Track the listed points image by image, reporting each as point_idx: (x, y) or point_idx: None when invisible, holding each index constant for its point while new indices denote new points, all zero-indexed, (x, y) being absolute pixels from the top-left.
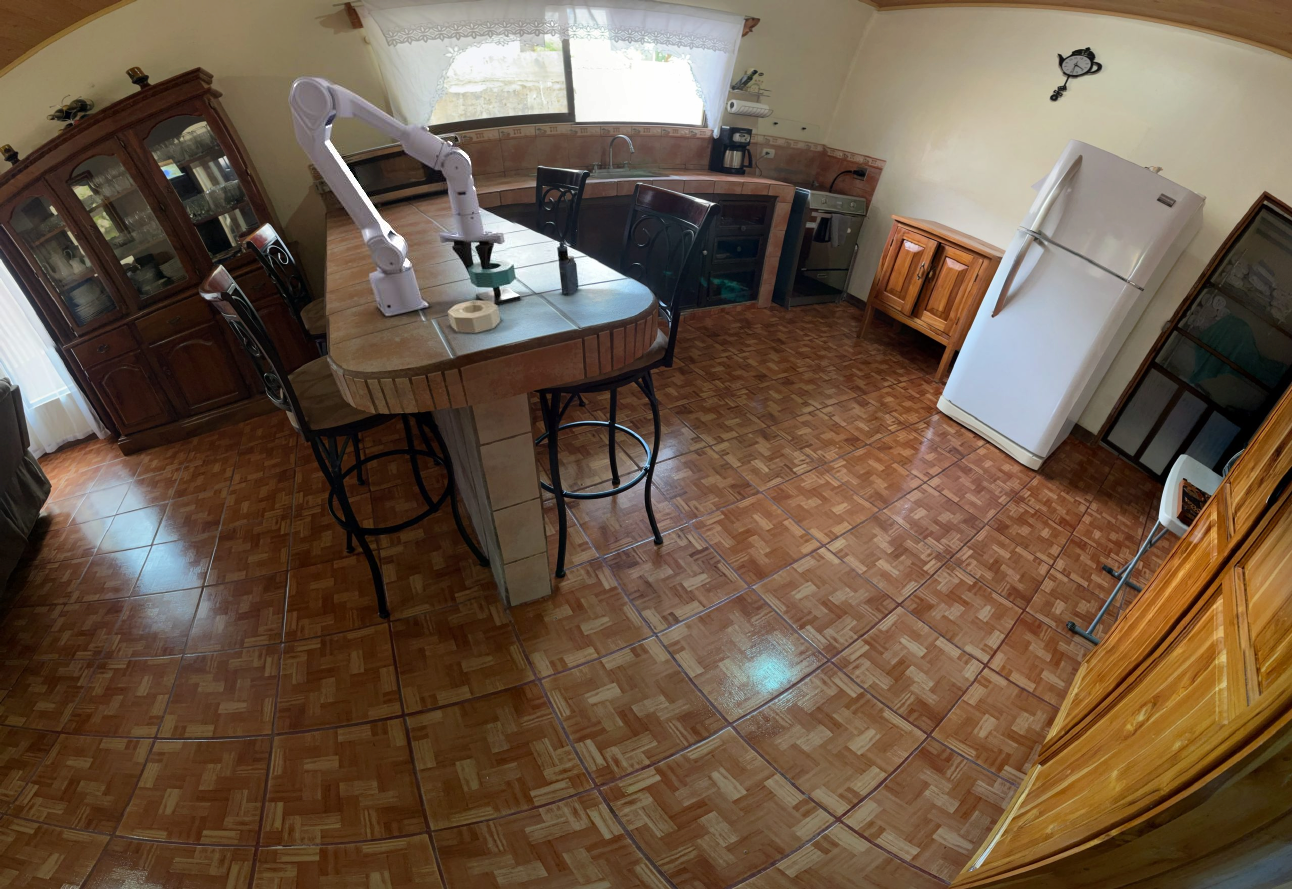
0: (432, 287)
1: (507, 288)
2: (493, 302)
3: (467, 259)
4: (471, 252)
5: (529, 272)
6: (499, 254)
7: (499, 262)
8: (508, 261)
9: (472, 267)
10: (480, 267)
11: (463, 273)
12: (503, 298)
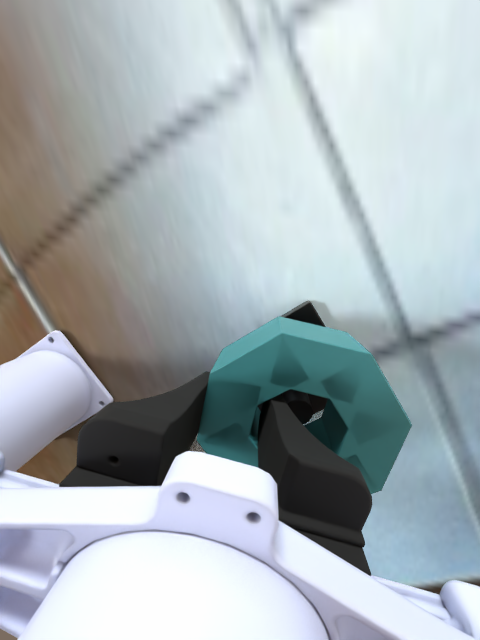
0: (59, 236)
1: (317, 319)
2: None
3: (186, 449)
4: (189, 407)
5: (394, 66)
6: None
7: (335, 385)
8: (384, 378)
9: (214, 435)
10: (250, 440)
11: (107, 68)
12: (311, 404)
